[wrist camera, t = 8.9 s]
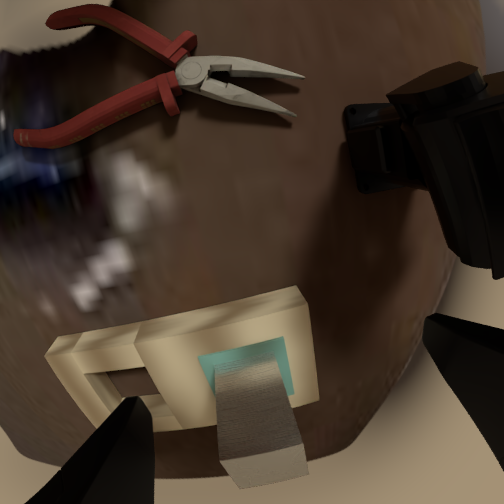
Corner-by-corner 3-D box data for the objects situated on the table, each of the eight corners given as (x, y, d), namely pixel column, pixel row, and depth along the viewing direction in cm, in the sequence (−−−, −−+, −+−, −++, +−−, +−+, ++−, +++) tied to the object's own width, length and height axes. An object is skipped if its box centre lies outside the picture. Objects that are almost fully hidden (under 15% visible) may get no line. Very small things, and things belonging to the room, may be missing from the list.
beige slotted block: (295, 285, 21) (308, 305, 18) (309, 378, 24) (319, 401, 21) (57, 336, 20) (43, 357, 17) (107, 412, 23) (100, 434, 20)
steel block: (273, 351, 19) (303, 443, 11) (282, 390, 20) (308, 474, 13) (214, 364, 19) (219, 461, 11) (229, 402, 20) (240, 489, 13)
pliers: (279, 178, 19) (289, 180, 17) (23, 148, 16) (4, 148, 13) (308, 34, 16) (320, 20, 14) (60, 18, 12) (46, 7, 10)
